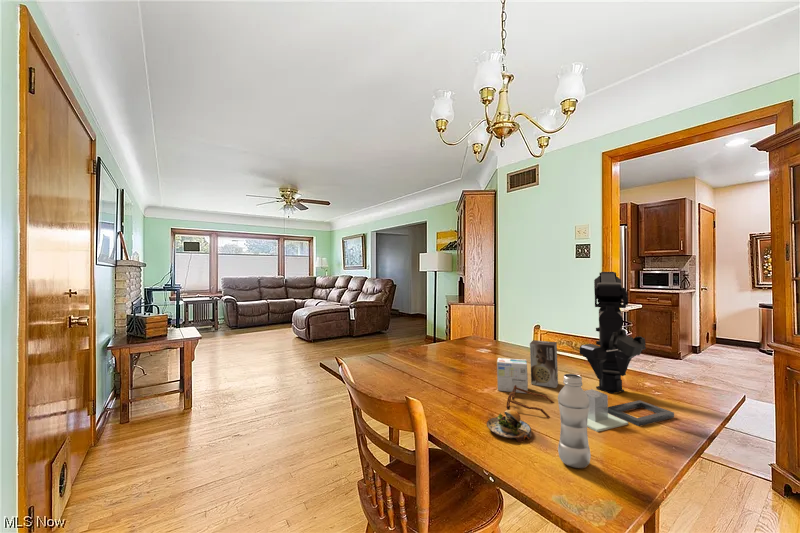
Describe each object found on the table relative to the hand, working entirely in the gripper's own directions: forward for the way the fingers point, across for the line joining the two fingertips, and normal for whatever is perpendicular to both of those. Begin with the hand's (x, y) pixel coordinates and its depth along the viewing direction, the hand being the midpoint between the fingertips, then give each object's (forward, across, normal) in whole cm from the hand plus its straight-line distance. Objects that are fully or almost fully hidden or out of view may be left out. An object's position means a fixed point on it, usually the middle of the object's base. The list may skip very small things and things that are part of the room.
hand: (611, 377), depth 99 cm
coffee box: (+12, +2, +30) cm, 32 cm away
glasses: (+12, -18, +15) cm, 26 cm away
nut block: (+11, -6, 0) cm, 13 cm away
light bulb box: (+12, -13, +30) cm, 35 cm away
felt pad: (+12, -7, +1) cm, 13 cm away
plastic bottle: (+11, -30, -15) cm, 36 cm away
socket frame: (+12, +8, -2) cm, 15 cm away
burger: (+12, -35, +3) cm, 37 cm away
